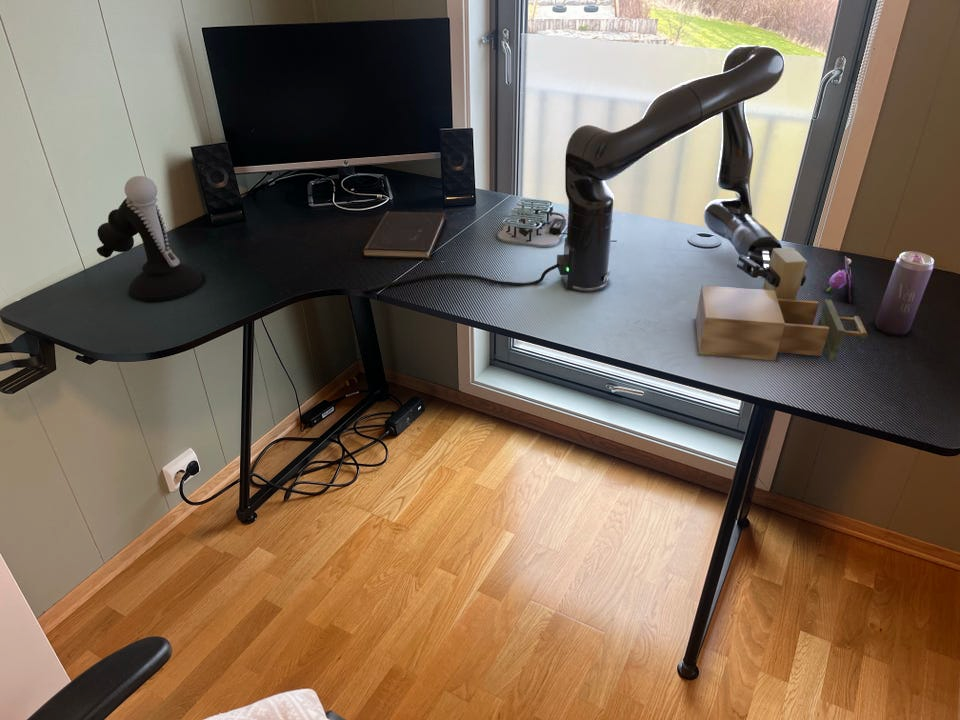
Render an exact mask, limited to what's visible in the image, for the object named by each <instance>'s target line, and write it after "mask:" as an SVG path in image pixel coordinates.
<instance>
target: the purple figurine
mask: <svg viewBox="0 0 960 720" xmlns="http://www.w3.org/2000/svg"><path fill="white" fill-rule="evenodd" d="M851 263H852V259H850V258H848V257H847V255H844V267H845V269H840V268H839V269H838V271H837V272H835V273H833V274H832V275H831V276H830V278H829V282H828V283H829V284H828V285H829V287H828V288H827V290H826V293H829V292H830V291H831V290H840V289H841V288H843V287H844V286H845V285H846V287H847V297H848V303H849V304H852V295H851V294H852V293H851V287H852V285H851V283H852V276H850V275H852V270H851V269H850V267H849V265H850V264H851Z"/></svg>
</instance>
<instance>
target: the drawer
mask: <svg viewBox="0 0 960 720" xmlns="http://www.w3.org/2000/svg"><path fill="white" fill-rule="evenodd" d="M777 300H778V303H779V306H780V309H781V312H782V316H783V319H784V322H785V326H784V330H783V334H782V337H781V341H780V345H779V349H778V353H784V354H792V355H793V354H794V355H803V356H804V355H805V356H815V357H816V356H817V357H822V354H823V351H824V350H825V354H826V356H827V358H828V360H830V361H836V360H837V359H838V356H839V352H840V349H841V346H842V342H843V339H844V337H845V336H852V337H853V336H855V337H860V338H861V339H866V338H867V337H868V336H869V335H868V332H867V330H866V328H865V326H864V324H863V322H862V319H861V318H860V316H858V315H854V316H853V317H849V316H839V314H838V312H837V309H836V306H835V305H834V302H833V300H832V299H824V302H823V304H822V308H821V312H820V315H819V317H818V322H817V325H814V323H815V319H816V315H817V312H818V309H819V305H820V302H819V301H818V300H805V299H796V300H793V299H779V298H777ZM842 322H850V323H853V324H854V326H855V329H856V330H845V327H844V325H843V323H842Z"/></svg>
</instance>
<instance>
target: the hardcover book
mask: <svg viewBox="0 0 960 720" xmlns="http://www.w3.org/2000/svg"><path fill="white" fill-rule="evenodd" d="M445 213H446V212H427V211H426V212H424V211H423V212H422V211H392V210H391V211H389V210H388V211H386V212H385V213H384V215H383V216H382V218H381V219H380V221H379V223H378V225H377V226H376V228H375V229H374V231H373V233H372V234H371V235H370V238H369V239H368V241H367V243H366V244H365V246H364V247H363V249H362V254H363V257H365V258H381V259H382V258H383V259H407V260H408V259H413V260H430V258H431V256H432V254H433V251H434V249H435V246H436V244H437V241H438V239H439V237H440V235H441V232H442V229H443V227H444V224H445V223H446V219H444V218H445Z"/></svg>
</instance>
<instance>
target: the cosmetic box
mask: <svg viewBox="0 0 960 720" xmlns="http://www.w3.org/2000/svg"><path fill="white" fill-rule="evenodd" d="M800 253H801V252H799V251H798V250H796V249H795V247H791V246H790V247H782V248H773V251H772V255H771V259H770V263H769V265H770V267H771V268H770V269H773V270H774V271H775V272H776V273H777V274H778V276H779V277H780V281H779V285H778V287H773V286H772V285H771V284H769V283H768V282H767V281H766V279H764V281H763V285H762V289H761V290H774V291H775V293H776V296H777V298H779V299H793V300H797V297H798V294H799V290H800V287H801V286H800V284H801V281H802V277H803V274H804V271H805V272H806V269H805V267H806V264H807V265H808V260H806V258H805V259H804V258H803V257H802V256H801V254H800ZM806 268H807V267H806Z"/></svg>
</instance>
